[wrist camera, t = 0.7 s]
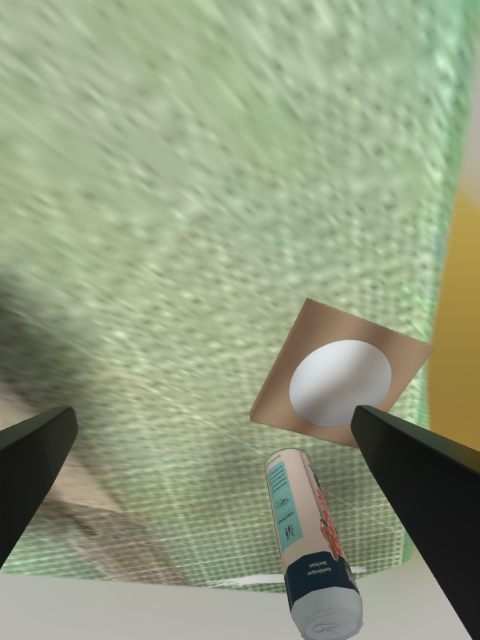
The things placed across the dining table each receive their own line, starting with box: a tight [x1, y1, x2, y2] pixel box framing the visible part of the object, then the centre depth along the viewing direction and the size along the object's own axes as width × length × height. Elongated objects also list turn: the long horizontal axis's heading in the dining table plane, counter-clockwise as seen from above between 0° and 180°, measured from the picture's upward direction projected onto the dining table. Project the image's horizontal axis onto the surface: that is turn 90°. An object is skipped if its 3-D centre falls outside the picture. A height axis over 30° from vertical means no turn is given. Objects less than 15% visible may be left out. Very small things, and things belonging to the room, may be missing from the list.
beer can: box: [265, 449, 363, 640], centre depth 22 cm, size 5×5×12 cm
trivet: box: [249, 298, 435, 448], centre depth 23 cm, size 12×12×1 cm
